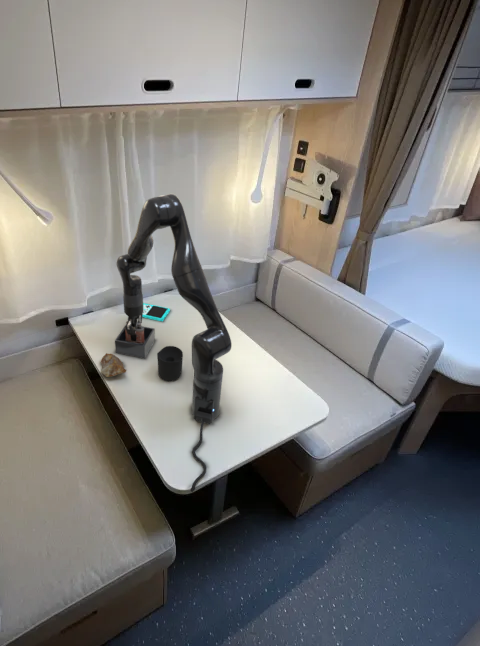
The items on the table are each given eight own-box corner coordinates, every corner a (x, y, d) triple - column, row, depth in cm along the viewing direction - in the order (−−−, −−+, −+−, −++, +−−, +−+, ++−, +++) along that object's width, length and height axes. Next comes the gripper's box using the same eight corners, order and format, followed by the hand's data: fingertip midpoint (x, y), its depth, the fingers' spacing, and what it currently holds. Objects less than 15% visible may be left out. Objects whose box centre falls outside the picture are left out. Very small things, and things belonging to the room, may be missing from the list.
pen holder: (184, 380, 148) (185, 360, 143) (160, 384, 146) (159, 363, 141) (179, 364, 156) (179, 344, 150) (155, 367, 154) (155, 347, 148)
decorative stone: (106, 375, 143) (92, 355, 155) (108, 384, 145) (94, 365, 157) (130, 366, 147) (115, 348, 159) (132, 375, 149) (116, 357, 161)
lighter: (145, 341, 164) (145, 321, 159) (143, 345, 162) (142, 325, 156) (127, 338, 166) (125, 318, 160) (124, 343, 163) (123, 323, 158)
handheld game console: (139, 303, 193) (139, 301, 192) (170, 310, 188) (170, 307, 187) (130, 314, 185) (130, 312, 184) (162, 321, 180) (162, 319, 180)
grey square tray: (144, 358, 159) (144, 346, 155) (115, 352, 162) (114, 340, 158) (155, 340, 169) (154, 328, 165) (127, 335, 172) (126, 323, 168)
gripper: (131, 291, 160) (133, 326, 169) (117, 309, 148) (120, 346, 158) (148, 294, 158) (149, 329, 167) (135, 312, 146) (137, 349, 156)
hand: (135, 337), depth 162 cm, fingers closed on lighter, 3 cm apart
